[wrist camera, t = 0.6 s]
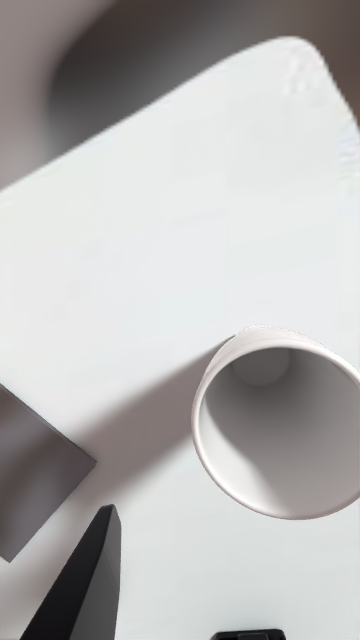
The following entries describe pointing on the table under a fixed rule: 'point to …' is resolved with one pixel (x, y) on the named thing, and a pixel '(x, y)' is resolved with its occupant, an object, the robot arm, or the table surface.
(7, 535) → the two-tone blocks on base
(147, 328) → the table surface
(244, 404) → the drinking glass
